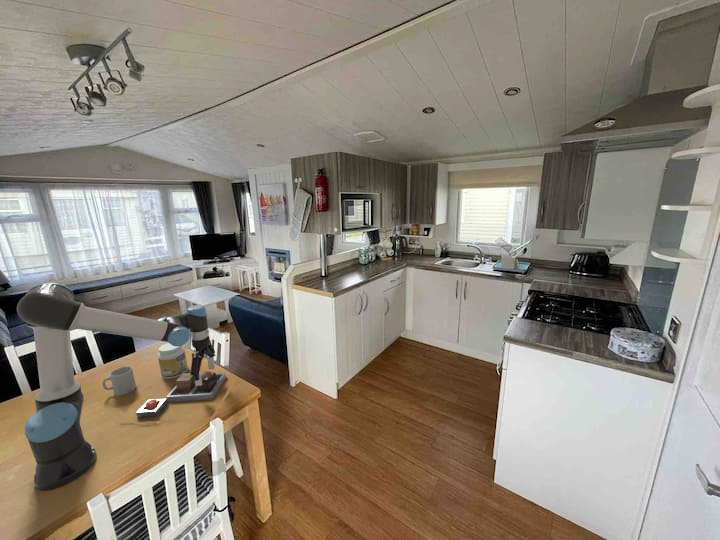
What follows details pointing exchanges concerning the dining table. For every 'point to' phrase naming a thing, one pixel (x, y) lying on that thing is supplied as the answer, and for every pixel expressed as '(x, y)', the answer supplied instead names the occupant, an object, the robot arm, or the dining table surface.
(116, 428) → the dining table surface
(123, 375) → the mug
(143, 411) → the white square piece
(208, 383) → the box
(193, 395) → the pallet
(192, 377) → the seated block
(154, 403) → the button
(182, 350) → the supplement tub
